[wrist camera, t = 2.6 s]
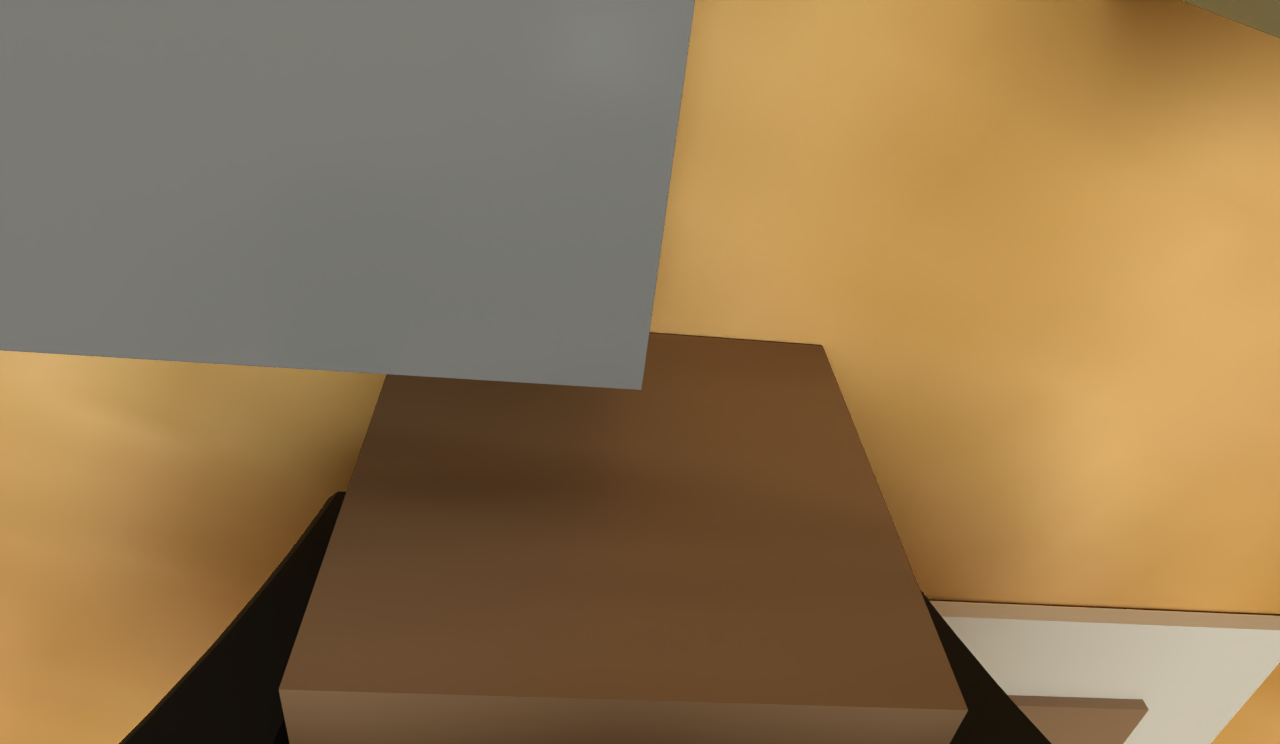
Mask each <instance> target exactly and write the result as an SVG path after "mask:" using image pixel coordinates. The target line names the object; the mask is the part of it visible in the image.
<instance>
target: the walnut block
mask: <svg viewBox="0 0 1280 744" xmlns="http://www.w3.org/2000/svg"><path fill="white" fill-rule="evenodd" d="M279 694H280V699H281V704H282V709H283V714H284V719H285V724H286V729H287V734H288V738H289V743H290V744H950V742H951V740H952V738H953V737H954V735H955V733H956V731H957V729H958V728H959V726H960V724H961V722H962V720H963V719H964V717H965V715H966V713H967V711H968V708H967V706H966V703H965V701H964V698H963V696H962V693H961V691H960V688H959V686H958V683H957V681H956V678H955V676H954V673H953V671H952V668H951V666H950V663H949V661H948V658H947V656H946V653H945V651H944V648H943V646H942V643H941V641H940V638H939V636H938V633H937V631H936V628H935V626H934V623H933V621H932V618H931V616H930V613H929V611H928V608H927V606H926V603H925V601H924V598H923V596H922V593H921V591H920V588H919V586H918V583H917V581H916V578H915V576H914V573H913V571H912V568H911V566H910V563H909V561H908V558H907V556H906V553H905V551H904V548H903V546H902V543H901V541H900V538H899V536H898V533H897V531H896V528H895V526H894V523H893V521H892V518H891V516H890V513H889V511H888V508H887V506H886V503H885V501H884V498H883V496H882V493H881V491H880V488H879V486H878V483H877V481H876V478H875V476H874V473H873V471H872V468H871V466H870V463H869V461H868V458H867V456H866V453H865V451H864V448H863V446H862V443H861V441H860V438H859V436H858V433H857V431H856V428H855V426H854V423H853V421H852V418H851V416H850V413H849V411H848V408H847V406H846V403H845V401H844V398H843V396H842V393H841V391H840V388H839V386H838V383H837V381H836V378H835V376H834V373H833V371H832V368H831V366H830V363H829V361H828V358H827V356H826V353H825V351H824V348H823V346H819V345H806V344H792V343H779V342H765V341H752V340H738V339H725V338H711V337H698V336H684V335H671V334H657V333H649V338H648V345H647V353H646V360H645V367H644V374H643V382H642V389H641V390H635V389H619V388H603V387H586V386H570V385H554V384H538V383H522V382H505V381H489V380H473V379H457V378H441V377H425V376H408V375H392V374H387V375H386V378H385V381H384V384H383V387H382V390H381V393H380V396H379V399H378V402H377V404H376V407H375V410H374V413H373V416H372V419H371V422H370V425H369V428H368V431H367V434H366V436H365V439H364V442H363V445H362V448H361V451H360V454H359V457H358V460H357V463H356V466H355V468H354V471H353V474H352V477H351V480H350V483H349V486H348V489H347V492H346V495H345V498H344V501H343V503H342V506H341V509H340V512H339V515H338V518H337V521H336V524H335V527H334V530H333V533H332V535H331V538H330V541H329V544H328V547H327V550H326V553H325V556H324V559H323V562H322V565H321V567H320V570H319V573H318V576H317V579H316V582H315V585H314V588H313V591H312V594H311V597H310V599H309V602H308V605H307V608H306V611H305V614H304V617H303V620H302V623H301V626H300V629H299V632H298V634H297V637H296V640H295V643H294V646H293V649H292V652H291V655H290V658H289V661H288V664H287V666H286V669H285V672H284V675H283V678H282V681H281V684H280V687H279Z"/></svg>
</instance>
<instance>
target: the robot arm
mask: <svg viewBox="0 0 1280 744" xmlns="http://www.w3.org/2000/svg"><path fill="white" fill-rule="evenodd" d="M345 495H346V492H337V493H335V494H334V495H333V496H331V497H330V498H329V499H328V500H327V502H326V503H325V504H324V506H323V507H322V509H321V510H320V511H319V513H318V514H317V516H316V517H315V518H314V520H313V521H312V523H311V524H310V525H309V527H308V528H307V529H306V531H305V532H304V533H303V535H302V536H301V537H300V539H299V540H298V541H297V543H296V544H295V545H294V547H293V548H292V549H291V551H290V552H289V553H288V554H287V556H286V557H285V558H284V560H283V561H282V562H281V563H280V565H279V566H278V567H277V568H276V570H275V571H274V572H273V573H272V575H271V576H270V577H269V578H268V580H267V581H266V582H265V583H264V585H263V586H262V587H261V588H260V590H259V591H258V592H257V593H256V594H255V595H254V597H253V598H252V599H251V600H250V601H249V603H248V604H247V605H246V606H245V607H244V608H243V610H242V611H241V612H240V613H239V614H238V616H237V617H236V618H235V619H234V620H233V621H232V623H231V624H230V625H229V626H228V627H227V629H226V630H225V631H224V632H223V633H222V634H221V636H220V637H219V638H218V639H217V640H216V641H215V643H214V644H213V645H212V646H211V647H210V648H209V649H208V650H207V652H206V653H205V654H204V655H203V656H202V657H201V658H200V659H199V660H198V661H197V662H196V664H195V665H194V666H193V667H192V668H191V669H190V670H189V671H188V672H187V673H186V674H185V675H184V676H183V677H182V679H181V680H180V681H179V682H178V683H177V684H176V685H175V686H174V687H173V688H172V689H171V690H170V691H169V692H168V694H167V695H166V696H165V697H164V698H163V699H162V700H161V701H160V702H159V703H158V704H157V705H156V706H155V707H154V709H153V710H152V711H151V712H150V713H149V714H148V715H147V716H146V717H145V718H144V719H143V720H142V721H141V722H140V723H139V724H138V725H137V726H136V727H135V728H134V729H133V730H132V731H131V732H130V733H129V734H128V735H127V736H126V737H125V738H124V739H123V740H122V741H121V742H120V743H119V744H290V743H289V738H288V734H287V729H286V724H285V719H284V714H283V709H282V704H281V699H280V694H279V687H280V684H281V681H282V678H283V675H284V672H285V669H286V666H287V664H288V661H289V658H290V655H291V652H292V649H293V646H294V643H295V640H296V637H297V634H298V632H299V629H300V626H301V623H302V620H303V617H304V614H305V611H306V608H307V605H308V602H309V599H310V597H311V594H312V591H313V588H314V585H315V582H316V579H317V576H318V573H319V570H320V567H321V565H322V562H323V559H324V556H325V553H326V550H327V547H328V544H329V541H330V538H331V535H332V533H333V530H334V527H335V524H336V521H337V518H338V515H339V512H340V509H341V506H342V503H343V501H344V498H345ZM920 591H921V590H920ZM921 593H922V596H923V598H924V601H925V603H926V606H927V608H928V611H929V613H930V616H931V618H932V621H933V623H934V626H935V628H936V631H937V633H938V636H939V638H940V641H941V643H942V646H943V648H944V651H945V653H946V656H947V658H948V661H949V663H950V666H951V668H952V671H953V673H954V676H955V678H956V681H957V683H958V686H959V688H960V691H961V693H962V696H963V698H964V701H965V703H966V706H967V708H968V711H967V713H966V715H965V717H964V719H963V720H962V722H961V724H960V726H959V728H958V729H957V731H956V733H955V735H954V737H953V738H952V740H951V742H950V744H1051V742H1050V741H1049V740H1048V739H1047V738H1046V737H1045V736H1044V735H1043V734H1042V733H1041V732H1040V730H1039V729H1038V728H1037V727H1036V726H1035V725H1034V724H1033V723H1032V722H1031V721H1030V720H1029V719H1028V717H1027V716H1026V715H1025V714H1024V713H1023V712H1022V711H1021V710H1020V709H1019V708H1018V707H1017V705H1016V704H1015V703H1014V702H1013V701H1012V700H1011V699H1010V698H1009V696H1008V695H1007V694H1006V693H1005V692H1004V691H1003V689H1002V688H1001V687H1000V686H999V685H998V684H997V683H996V681H995V680H994V679H993V678H992V677H991V676H990V674H989V673H988V672H987V671H986V670H985V668H984V667H983V666H982V665H981V664H980V662H979V661H978V660H977V659H976V658H975V656H974V655H973V654H972V653H971V652H970V650H969V649H968V648H967V647H966V646H965V644H964V643H963V642H962V641H961V640H960V638H959V637H958V636H957V635H956V634H955V632H954V631H953V630H952V629H951V627H950V626H949V625H948V624H947V622H946V621H945V620H944V619H943V618H942V616H941V615H940V614H939V613H938V611H937V610H936V609H935V607H934V606H933V605H932V604H931V602H930V601H929V600H928V599H927V597H926V596H925V595H924V593H923V592H922V591H921Z"/></svg>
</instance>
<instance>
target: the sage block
mask: <svg viewBox="0 0 1280 744" xmlns="http://www.w3.org/2000/svg"><path fill="white" fill-rule="evenodd" d="M1182 1H1184V2H1187V3H1189V4H1192V5H1195V6H1197V7H1200V8H1202V9H1205V10H1208V11H1210V12H1213V13H1215V14H1218V15H1221V16H1223V17H1226V18H1229V19H1231V20H1234V21H1236V22H1239V23H1242V24H1244V25H1247V26H1249V27H1252V28H1255V29H1257V30H1260V31H1262V32H1265V33H1268V34H1270V35H1273V36H1275V37H1278V38H1280V0H1182Z"/></svg>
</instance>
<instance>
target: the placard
mask: <svg viewBox="0 0 1280 744" xmlns="http://www.w3.org/2000/svg"><path fill="white" fill-rule="evenodd" d="M930 602H931V604H932V605H933V606H934V607H935V609H936V610H937V611H938V613H939V614H940V615H941V616H942V618H943V619H944V620H945V621H946V622H947V624H948V625H949V626H950V627H951V629H952V630H953V631H954V632H955V634H956V635H957V636H958V637H959V638H960V640H961V641H962V642H963V643H964V644H965V646H966V647H967V648H968V649H969V650H970V652H971V653H972V654H973V655H974V656H975V658H976V659H977V660H978V661H979V662H980V664H981V665H982V666H983V667H984V668H985V670H986V671H987V672H988V673H989V674H990V676H991V677H992V678H993V679H994V680H995V681H996V683H997V684H998V685H999V686H1000V687H1001V688H1002V689H1003V691H1004V692H1005V693H1006V694H1007V695H1008V696H1009V698H1010V699H1011V700H1012V701H1013V702H1014V703H1015V704H1016V705H1017V707H1018V708H1019V709H1020V710H1021V711H1022V712H1023V713H1024V714H1025V715H1026V716H1027V717H1028V719H1029V720H1030V721H1031V722H1032V723H1033V724H1034V725H1035V726H1036V727H1037V728H1038V729H1039V730H1040V732H1041V733H1042V734H1043V735H1044V736H1045V737H1046V738H1047V739H1048V740H1049V741H1050V742H1051V744H1210V743H1211V742H1212V741H1213V740H1214V739H1215V737H1216V736H1217V735H1218V734H1219V733H1220V732H1221V730H1222V729H1223V728H1224V727H1225V726H1226V725H1227V723H1228V722H1229V721H1230V720H1231V719H1232V718H1233V716H1234V715H1235V714H1236V713H1237V712H1238V711H1239V709H1240V708H1241V707H1242V706H1243V705H1244V703H1245V702H1246V701H1247V700H1248V699H1249V698H1250V696H1251V695H1252V694H1253V693H1254V692H1255V691H1256V689H1257V688H1258V687H1259V686H1260V685H1261V684H1262V682H1263V681H1264V680H1265V679H1266V678H1267V677H1268V675H1269V674H1270V673H1271V672H1272V671H1273V670H1274V668H1275V667H1276V666H1277V665H1278V664H1279V663H1280V616H1272V615H1249V614H1226V613H1203V612H1180V611H1157V610H1134V609H1110V608H1087V607H1064V606H1041V605H1018V604H995V603H972V602H949V601H930Z"/></svg>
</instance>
